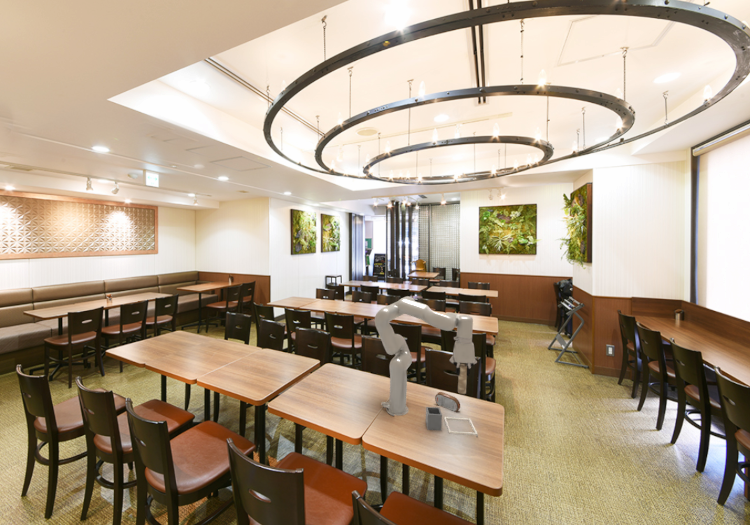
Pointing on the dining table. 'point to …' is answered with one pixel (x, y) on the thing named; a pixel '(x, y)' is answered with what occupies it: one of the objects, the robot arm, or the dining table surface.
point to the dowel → (462, 379)
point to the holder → (433, 418)
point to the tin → (447, 401)
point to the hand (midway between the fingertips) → (462, 374)
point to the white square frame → (461, 432)
